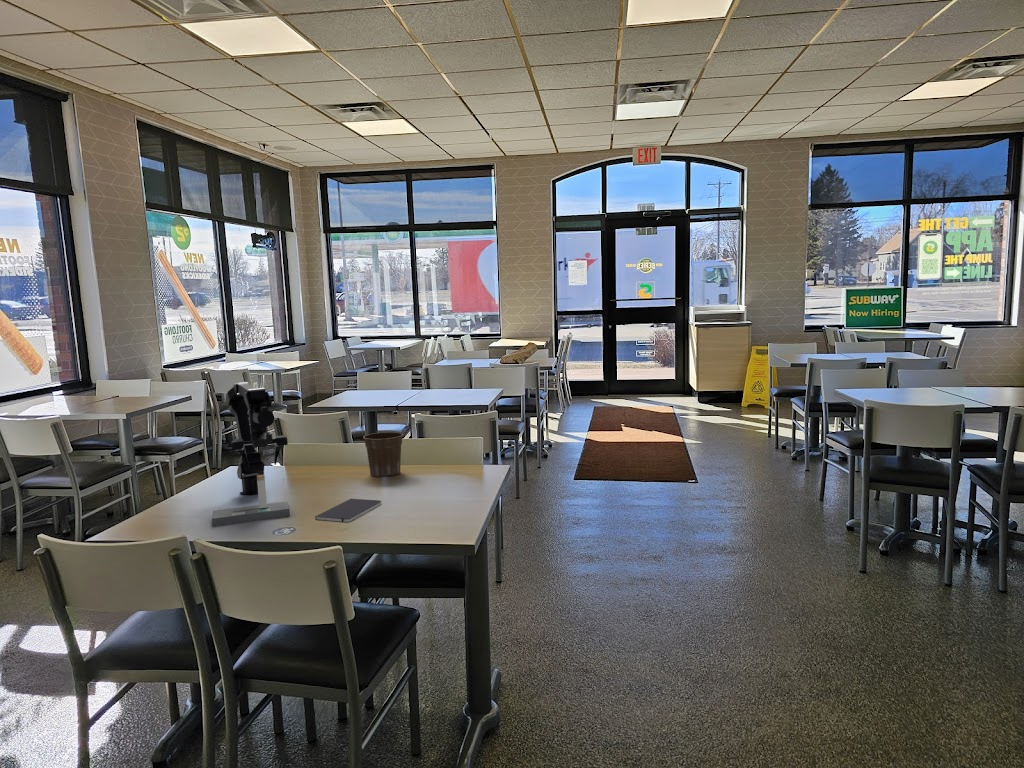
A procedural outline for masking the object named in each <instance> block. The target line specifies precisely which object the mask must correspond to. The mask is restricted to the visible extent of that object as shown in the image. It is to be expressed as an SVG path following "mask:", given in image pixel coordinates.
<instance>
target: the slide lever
mask: <svg viewBox="0 0 1024 768" xmlns="http://www.w3.org/2000/svg"><path fill="white" fill-rule="evenodd" d="M265 477H266V476H265V474H264V475H257V484H258V493H257V495H258V505H259V509H260V508H267V504H268V503H267V491H266V490H267V489H266V478H265Z"/></svg>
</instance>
